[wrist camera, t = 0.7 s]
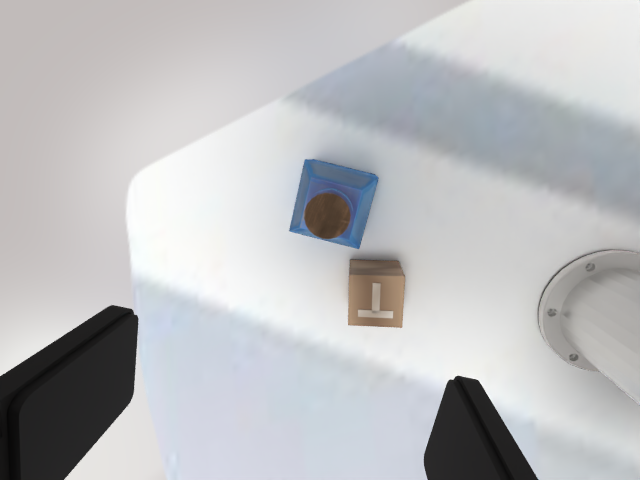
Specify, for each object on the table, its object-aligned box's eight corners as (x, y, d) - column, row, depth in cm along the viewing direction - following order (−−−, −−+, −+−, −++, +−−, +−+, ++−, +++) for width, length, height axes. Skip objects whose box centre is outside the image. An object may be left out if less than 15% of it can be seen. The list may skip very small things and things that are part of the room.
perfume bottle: (358, 233, 36) (359, 270, 24) (300, 219, 36) (273, 247, 24) (374, 174, 34) (384, 182, 23) (313, 159, 34) (292, 159, 23)
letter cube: (398, 260, 36) (405, 276, 31) (396, 305, 37) (402, 328, 32) (350, 259, 36) (349, 275, 32) (349, 303, 38) (348, 325, 33)
